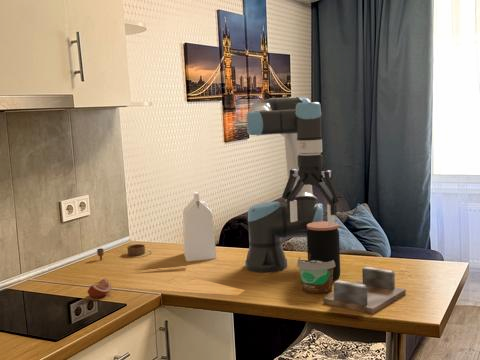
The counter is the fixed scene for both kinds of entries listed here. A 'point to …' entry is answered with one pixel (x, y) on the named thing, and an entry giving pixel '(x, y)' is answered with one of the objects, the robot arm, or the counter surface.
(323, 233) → the coffee jar
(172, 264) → the counter surface
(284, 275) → the counter surface
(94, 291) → the fruit slice
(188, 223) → the milk
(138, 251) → the place setting
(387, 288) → the holder
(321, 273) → the food container
